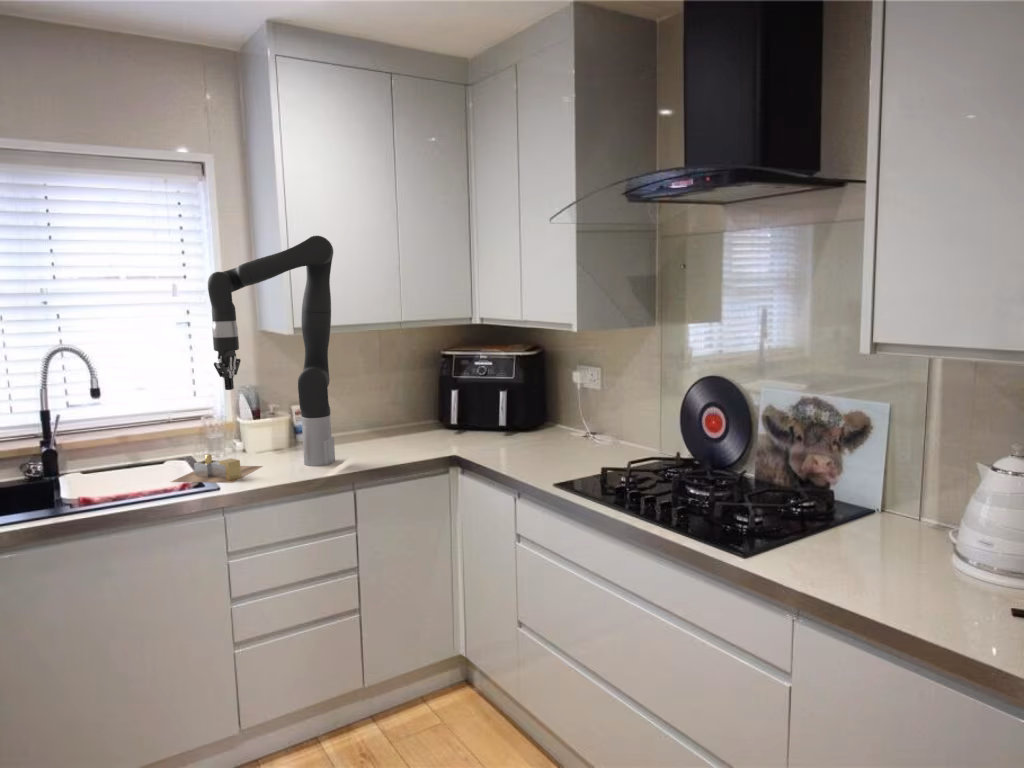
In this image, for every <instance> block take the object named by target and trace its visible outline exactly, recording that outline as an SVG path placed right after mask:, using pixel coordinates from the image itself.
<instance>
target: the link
mask: <svg viewBox="0 0 1024 768" xmlns="http://www.w3.org/2000/svg"><path fill="white" fill-rule="evenodd" d="M219 461H220V460H215V459H212V463H208V464H205V459H204V460H201V461H198V462H194V464H193V469H194V471H195V476H201V477H210V476H213V477H223V478H226V469H225V465H221V464H219Z"/></svg>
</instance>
